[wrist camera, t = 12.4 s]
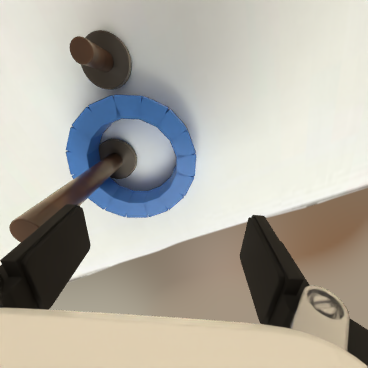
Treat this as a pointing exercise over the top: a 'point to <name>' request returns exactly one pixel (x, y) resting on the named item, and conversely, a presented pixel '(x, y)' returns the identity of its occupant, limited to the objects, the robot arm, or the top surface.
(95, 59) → the short peg
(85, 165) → the segmented ring
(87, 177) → the tall peg
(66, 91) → the top surface
